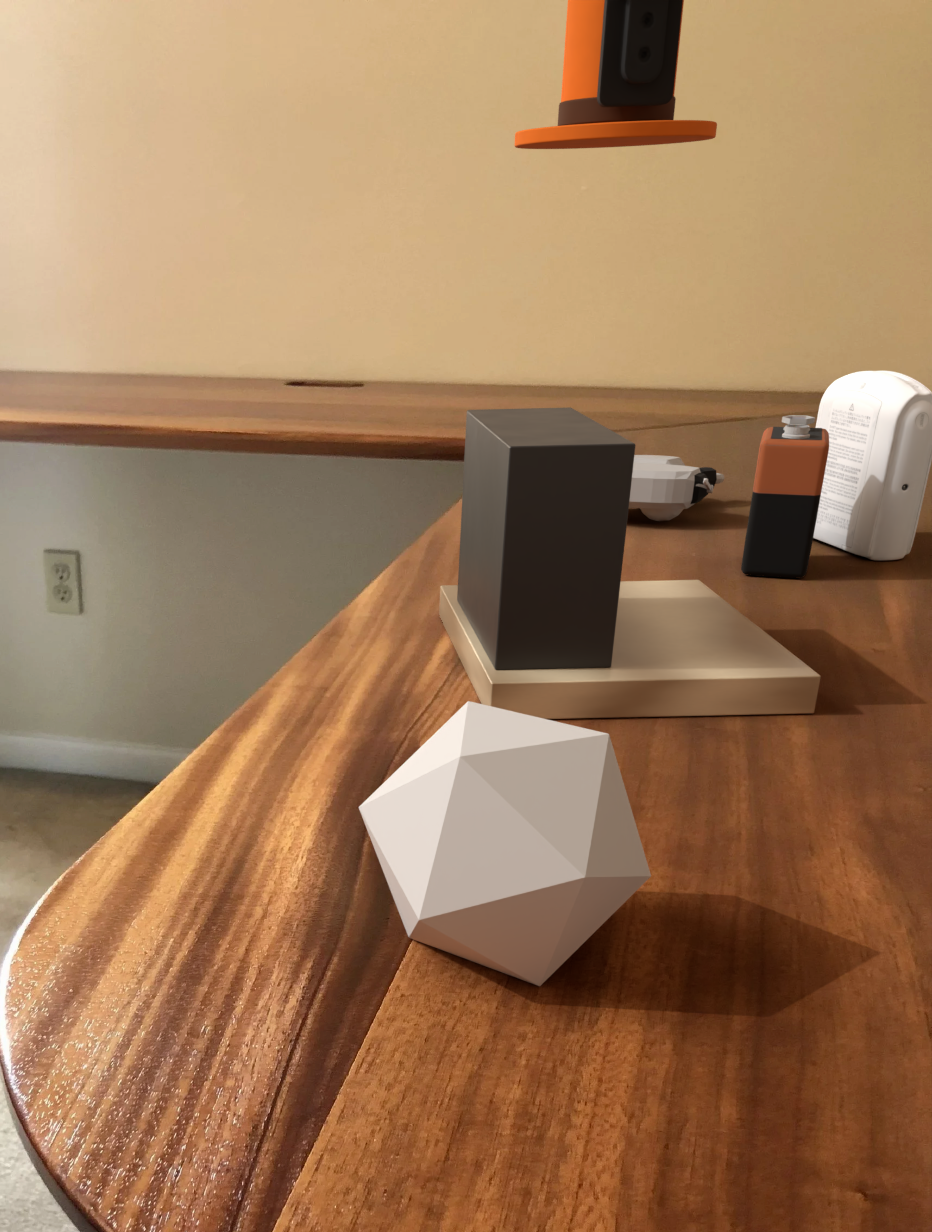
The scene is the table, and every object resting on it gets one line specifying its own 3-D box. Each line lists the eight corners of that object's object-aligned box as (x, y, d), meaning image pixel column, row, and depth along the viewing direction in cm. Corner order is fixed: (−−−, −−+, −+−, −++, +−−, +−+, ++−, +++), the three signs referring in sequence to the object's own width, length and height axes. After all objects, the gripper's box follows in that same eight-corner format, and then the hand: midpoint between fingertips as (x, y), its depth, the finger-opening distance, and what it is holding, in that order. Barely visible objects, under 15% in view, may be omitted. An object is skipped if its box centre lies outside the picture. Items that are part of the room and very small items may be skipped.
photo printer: (920, 559, 94) (960, 376, 88) (867, 563, 93) (903, 379, 88) (837, 531, 103) (868, 363, 97) (787, 534, 102) (816, 365, 96)
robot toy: (589, 501, 120) (547, 519, 108) (594, 450, 118) (552, 462, 106) (726, 510, 115) (698, 530, 103) (734, 456, 113) (707, 470, 101)
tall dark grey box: (557, 598, 79) (574, 406, 74) (614, 667, 66) (639, 443, 61) (456, 600, 79) (466, 409, 74) (494, 670, 66) (509, 446, 61)
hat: (681, 144, 64) (698, -19, 61) (744, 132, 56) (767, -56, 53) (498, 151, 64) (506, -12, 61) (535, 140, 56) (547, -48, 53)
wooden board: (694, 610, 83) (699, 579, 82) (814, 713, 66) (821, 675, 65) (438, 616, 83) (440, 585, 82) (488, 720, 66) (491, 682, 65)
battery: (807, 558, 95) (832, 414, 90) (805, 580, 89) (833, 427, 85) (744, 555, 96) (766, 412, 92) (739, 576, 91) (762, 425, 86)
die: (677, 958, 46) (606, 690, 47) (661, 953, 37) (575, 627, 39) (446, 1012, 48) (385, 758, 50) (382, 1018, 40) (311, 712, 41)
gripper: (849, -550, 43) (765, 90, 52) (691, -349, 58) (646, 121, 67) (624, -541, 43) (577, 97, 52) (524, -343, 58) (501, 126, 67)
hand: (616, 105), depth 59 cm, fingers closed on hat, 5 cm apart
